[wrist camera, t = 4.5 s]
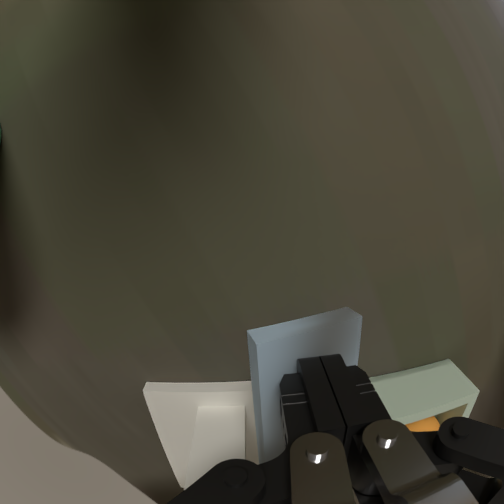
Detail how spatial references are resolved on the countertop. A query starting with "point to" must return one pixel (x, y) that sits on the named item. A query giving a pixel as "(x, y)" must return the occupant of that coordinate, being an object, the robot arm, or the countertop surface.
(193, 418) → the stand
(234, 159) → the countertop surface
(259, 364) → the lever
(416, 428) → the ball
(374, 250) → the countertop surface
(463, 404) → the pale green tray
